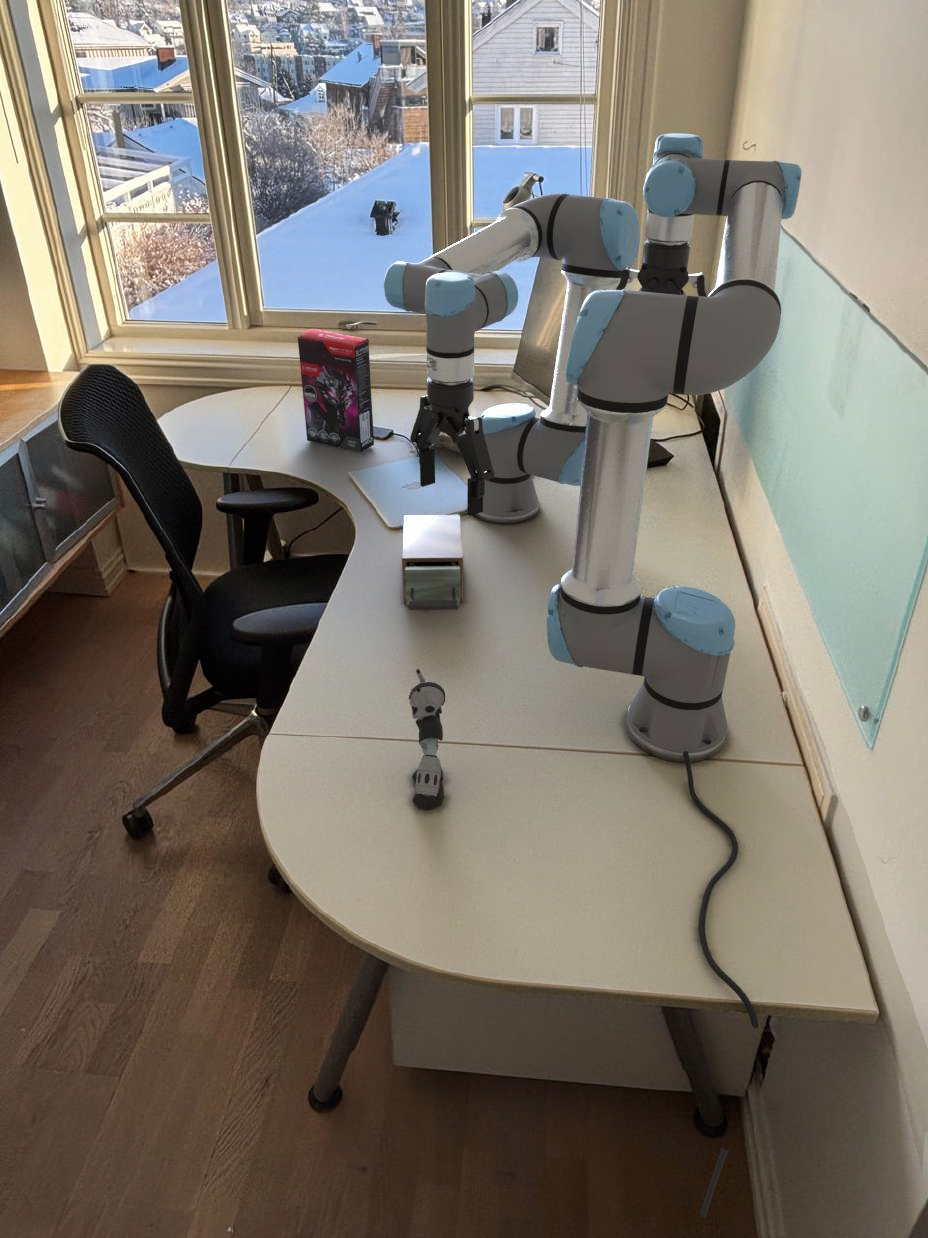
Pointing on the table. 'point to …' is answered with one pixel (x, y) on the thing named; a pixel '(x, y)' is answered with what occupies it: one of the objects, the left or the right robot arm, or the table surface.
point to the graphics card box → (336, 389)
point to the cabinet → (432, 542)
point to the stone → (446, 442)
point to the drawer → (432, 585)
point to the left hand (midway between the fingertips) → (450, 498)
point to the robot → (428, 742)
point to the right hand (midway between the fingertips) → (651, 367)
